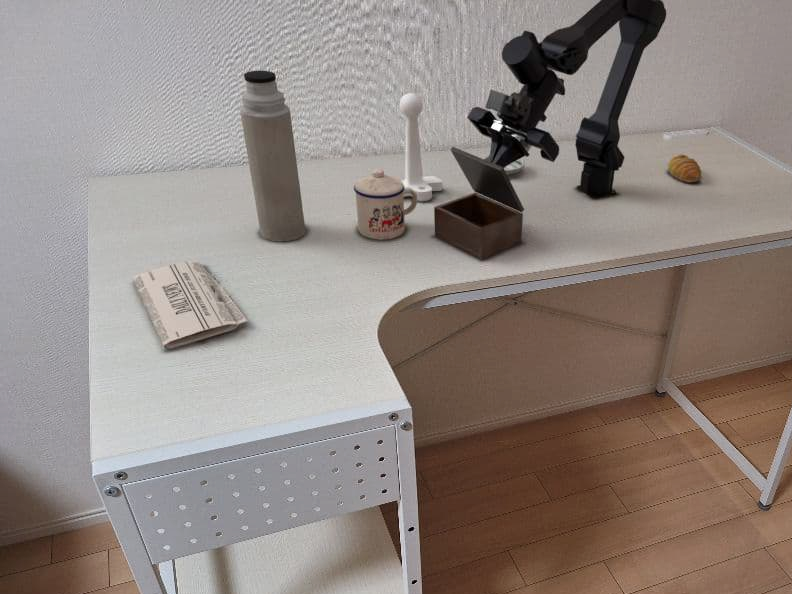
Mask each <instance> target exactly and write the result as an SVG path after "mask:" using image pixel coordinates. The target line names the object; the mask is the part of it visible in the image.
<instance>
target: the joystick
mask: <svg viewBox="0 0 792 594" xmlns="http://www.w3.org/2000/svg"><path fill="white" fill-rule="evenodd" d="M423 108H424V104H423V101H422V99H421V97H420V96H419V95H418V94H416V93H413V92H412V93H411V92H409V93H406V94H403V96H402V97H401V98H400V100H399V109H400V111H401V113H402V114H403V115H404V118H405V145H404V147H405V148H404V149H405V151H404V152H405V153H404V155H405V157H404V161H405V162H404V179H402V180H401V179H400V180H401V181H402V183H403V185H404V188H410V189H412V190H414V191H415V192H416V194H417V198H418V200H417V202H421V203H423V202H428V201H430V200H431V199H432V198H433V192H434V191H435V192H441V191H442V190H443V180H441V179H440V178H438V177H437V176H436V175H435V176H434V175H428V176H423V175H424V174H423V164H422V153H421V141H420V131H419V116H420V115H421V114H422V111H423V110H424V109H423ZM403 197H404V198H405V197H412V193H405V194H403Z"/></svg>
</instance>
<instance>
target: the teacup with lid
mask: <svg viewBox="0 0 792 594" xmlns="http://www.w3.org/2000/svg"><path fill="white" fill-rule="evenodd" d="M353 191H354V192H355V202H356V215H357V216H356V217H357V227H358V232H359V233H360V235H362V236H363V237H365V238H368V239H371V240H380V241H383V240H392V239H395V238H397V237H400V236H401V235H402V234H404V232H405V231H406V230H405V229H406V226H405V225H406V223H405V216H407V215H409V214H411V213H413V211H414V210H415V209H416V207H417V204H418V201H417V200H418V198H417V194H416V192H415V191H414V190H412V189H410V188H404V185H403V183H402V181H401V179H399V178H398V177H395V176H393V175H388V174H386V173H385V171H384V170H383V169H381V168H375V169H373V170H372V173H371V174H369V175H365V176H362V177H360V178H358V179H357V180H355V182H354V185H353ZM405 193H412V196H411V198H412V199H411V203H410V204H409V206H408V207H407V208H405V201H404V200H405V199H404V198H405V197H403V194H405Z"/></svg>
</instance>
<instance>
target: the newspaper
mask: <svg viewBox="0 0 792 594" xmlns="http://www.w3.org/2000/svg"><path fill="white" fill-rule="evenodd" d="M132 281H133V283H134V285H135V288H136V290H137V292H138V294H139V296H140V298H141V301H142V303H143V305H144V308H145V309H146V311H147V313H148V316H149V318H150V320H151V323H152V324H153V327H154V329H155V331H156V334H157V336H158V338H159V340H160V342H161V345H162V347H163V349H165V350H171V349H174V348H178V347H182V346H185V345H189V344H191V343H194V342H198V341H201V340H205V339H207V338H210V337H215V336H217V335H221V334H223V333H226V332H230V331H235V329H237V328H238V325H241V324H242V323H243V324H244V323H245V322H248V319H247V318H246V316H245V315H244V314H243V312H242V311H241V310H240V309H239V307H237V305H236V304H235V303H234V301H233V300H232V299H231V298H230V296H229V295H228V294H227V292H226V291H225V290H224V289H223V288H222V287H221V285H220V284H219V283H218V282H217V281H216V280H215V279H214V278H213V277H212V275H211V274H210V273H209V272H208V271H207V270H206V269H205V267H204V266H202V263H201V262H200V261H197V260H193V259H190V260H185V261H181V262H176V263H172V264H168V265H164V266H161V267H158V268H154V269H151V270H147V271H145V272H141V273H138V274H136V275H134V276H133V277H132Z"/></svg>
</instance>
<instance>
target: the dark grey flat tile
mask: <svg viewBox="0 0 792 594" xmlns="http://www.w3.org/2000/svg"><path fill="white" fill-rule="evenodd" d="M450 152H451V154H452V156H453V158H454V159H455V160H456V162H457V164H458V166H459V167H460V170H461V171H462V173H463V175H464V176H465V178H466V180H467V182H468V184H469V185H470V187H471V189H472V190H473V193H478V194H480V195H482V196H484V197H487V198H489V199H491V200H494V201H496V202H498V203H500V204H503V205H505V206H507V207H509V208H512V209H514V210H516V211H518V212H521V213H523V212H524V211H525V208H524V206H523V204H522V202H521V200H520V198H519V196H518V194H517V192H516V190H515V188H514V186H513V184H512V182H511V180H510V178H509V176H507V174H506V172H505V170H504V168H503V167H501V166H499V165H496V164H494V163H492V162H489V161H487V160H484V159H483V158H482V157H479V156H477V155H475V154H472V153H470V152H467V151H464V150H461V149H460V148H457V147H455V146H452V147H451V149H450Z"/></svg>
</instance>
